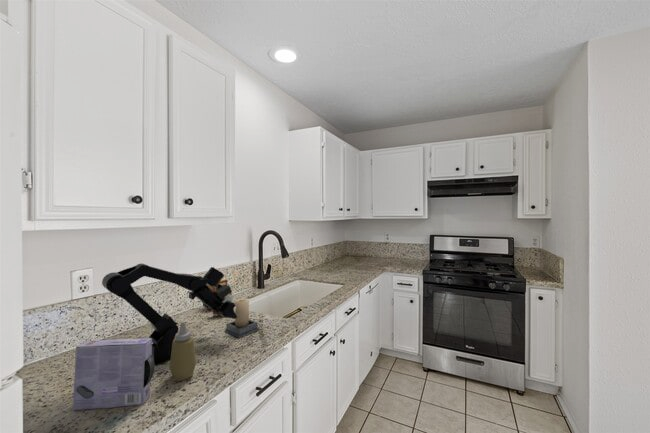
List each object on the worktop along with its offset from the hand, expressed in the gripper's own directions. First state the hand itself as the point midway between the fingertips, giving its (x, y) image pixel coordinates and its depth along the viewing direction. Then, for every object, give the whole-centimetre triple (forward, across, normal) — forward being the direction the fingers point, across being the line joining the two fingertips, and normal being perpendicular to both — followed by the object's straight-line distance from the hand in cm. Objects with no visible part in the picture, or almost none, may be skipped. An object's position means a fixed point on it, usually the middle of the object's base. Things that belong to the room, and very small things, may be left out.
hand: (230, 315), depth 125 cm
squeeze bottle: (-13, -17, +26) cm, 33 cm away
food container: (+14, +24, -1) cm, 28 cm away
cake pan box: (-26, -16, +39) cm, 49 cm away
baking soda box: (+16, +38, -3) cm, 42 cm away
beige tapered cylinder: (+10, 0, +1) cm, 10 cm away
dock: (+10, 0, +2) cm, 11 cm away
